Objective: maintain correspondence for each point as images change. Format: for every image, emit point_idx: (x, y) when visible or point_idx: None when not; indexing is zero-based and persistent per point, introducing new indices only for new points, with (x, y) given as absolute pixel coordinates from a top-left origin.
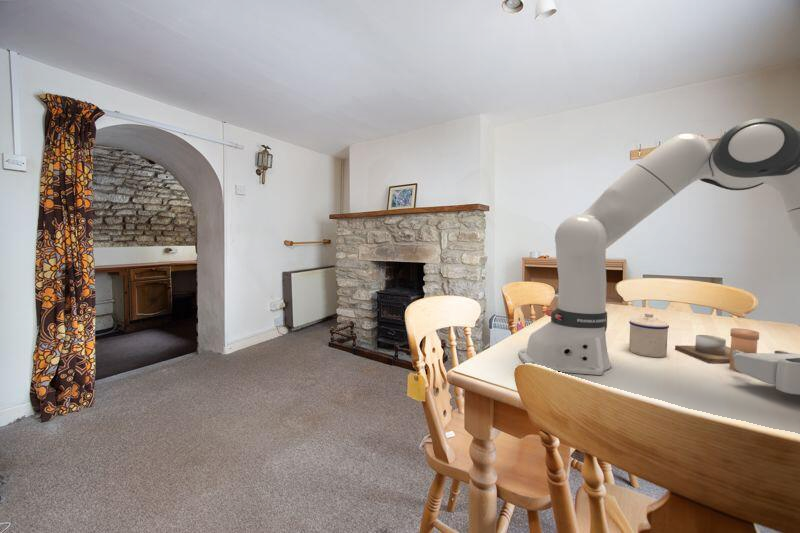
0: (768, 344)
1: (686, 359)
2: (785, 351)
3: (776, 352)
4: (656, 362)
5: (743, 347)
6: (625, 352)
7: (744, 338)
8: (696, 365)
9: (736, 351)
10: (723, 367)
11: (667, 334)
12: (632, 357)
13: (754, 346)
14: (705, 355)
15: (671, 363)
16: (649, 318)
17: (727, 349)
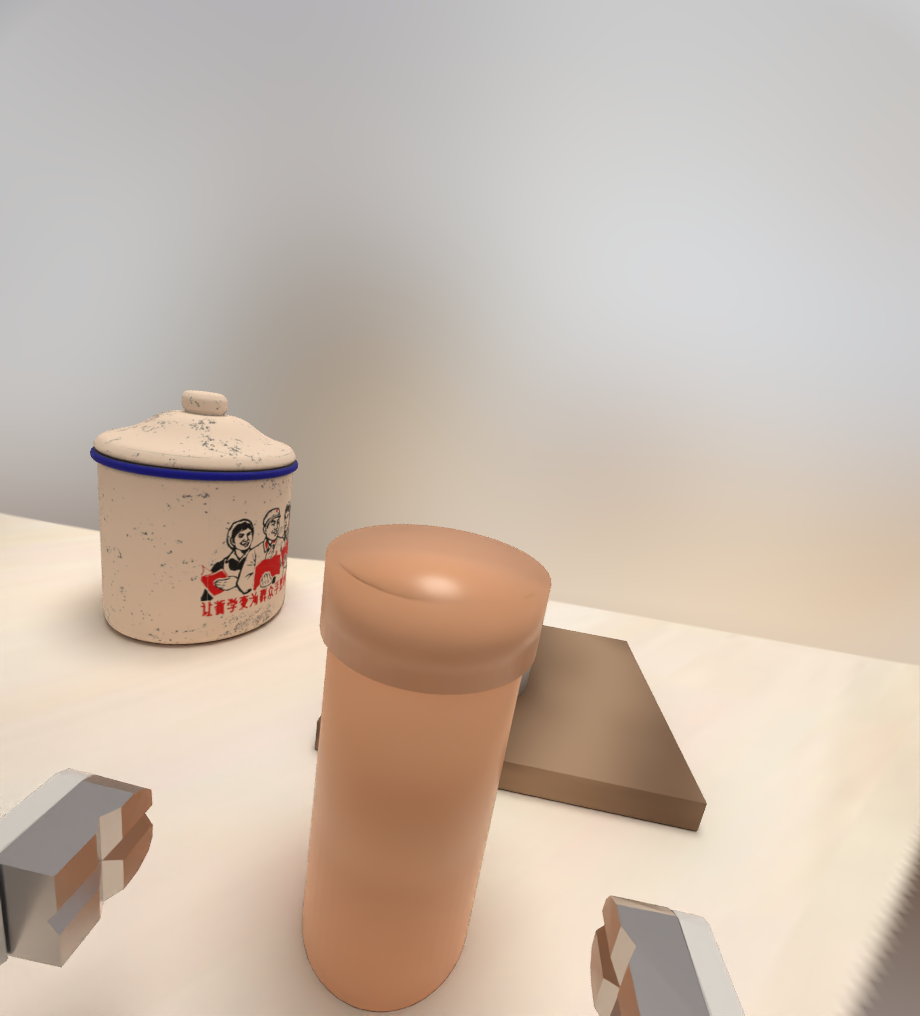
0: (868, 667)
1: (266, 686)
2: (723, 974)
3: (611, 928)
4: (3, 676)
5: (330, 737)
6: (100, 585)
7: (335, 642)
8: (174, 756)
9: (23, 808)
10: None
11: (229, 522)
12: (12, 616)
13: (413, 761)
14: None
15: (66, 703)
16: (164, 414)
17: (598, 665)
